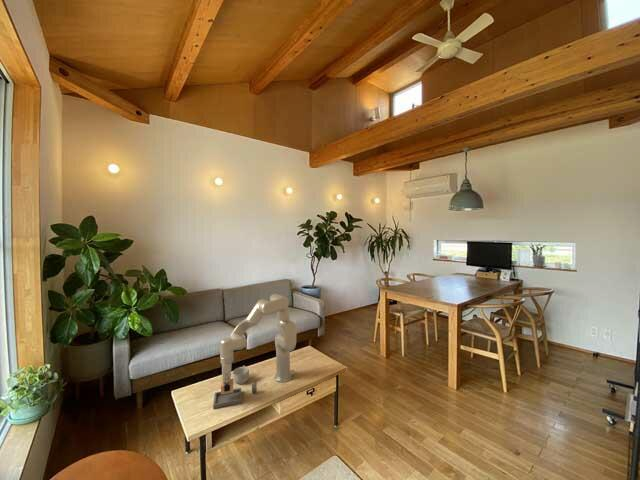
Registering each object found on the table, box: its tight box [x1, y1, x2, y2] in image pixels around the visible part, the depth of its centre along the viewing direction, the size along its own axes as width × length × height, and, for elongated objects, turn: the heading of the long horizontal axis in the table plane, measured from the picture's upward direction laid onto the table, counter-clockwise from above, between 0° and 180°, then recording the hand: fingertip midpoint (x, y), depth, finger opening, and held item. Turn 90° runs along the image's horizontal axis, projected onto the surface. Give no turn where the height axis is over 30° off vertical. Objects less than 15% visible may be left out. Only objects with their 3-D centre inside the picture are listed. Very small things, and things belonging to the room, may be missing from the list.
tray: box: [212, 387, 243, 410], centre depth 165 cm, size 16×13×2 cm
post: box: [251, 381, 258, 395], centre depth 172 cm, size 3×3×6 cm
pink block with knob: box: [220, 378, 234, 394], centre depth 164 cm, size 7×7×5 cm
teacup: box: [232, 365, 250, 385], centre depth 187 cm, size 14×11×8 cm
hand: (227, 387), depth 164 cm, fingers closed on pink block with knob, 7 cm apart
